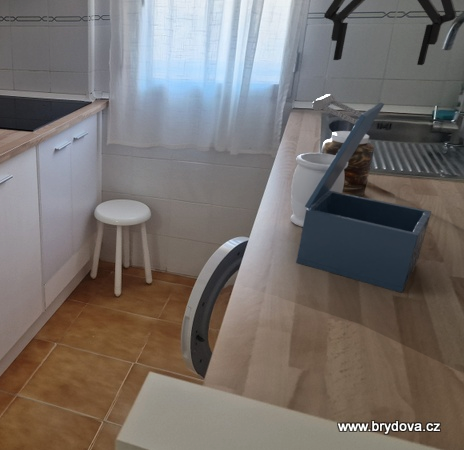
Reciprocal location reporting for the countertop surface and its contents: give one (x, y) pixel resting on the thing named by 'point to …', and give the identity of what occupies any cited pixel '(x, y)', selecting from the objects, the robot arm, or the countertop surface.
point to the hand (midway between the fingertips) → (377, 62)
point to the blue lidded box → (363, 239)
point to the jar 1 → (310, 181)
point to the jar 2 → (352, 162)
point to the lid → (348, 145)
